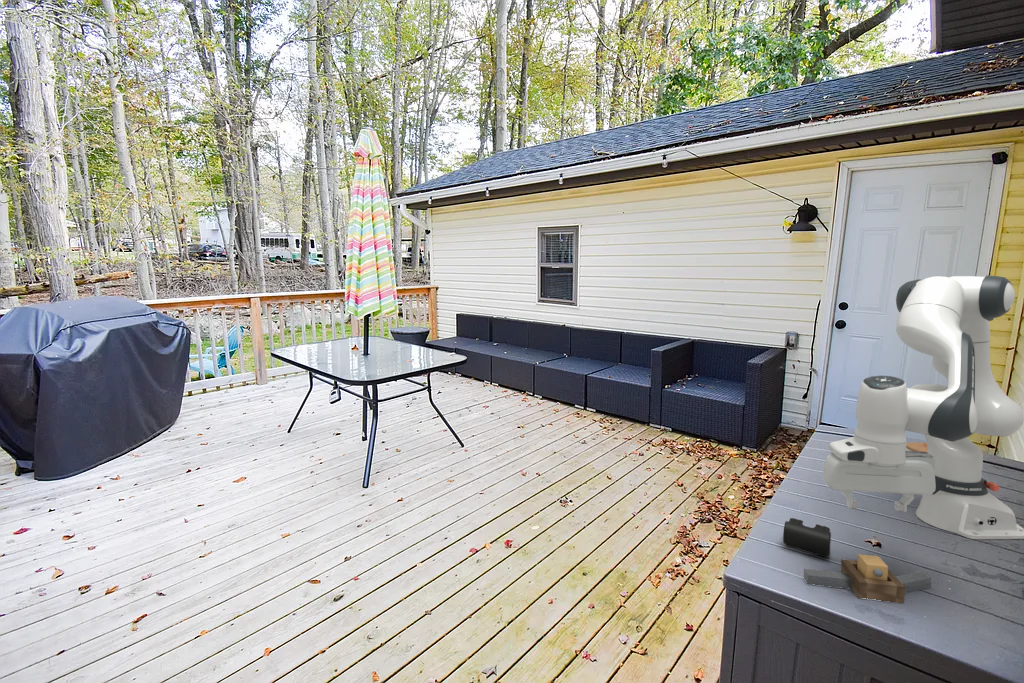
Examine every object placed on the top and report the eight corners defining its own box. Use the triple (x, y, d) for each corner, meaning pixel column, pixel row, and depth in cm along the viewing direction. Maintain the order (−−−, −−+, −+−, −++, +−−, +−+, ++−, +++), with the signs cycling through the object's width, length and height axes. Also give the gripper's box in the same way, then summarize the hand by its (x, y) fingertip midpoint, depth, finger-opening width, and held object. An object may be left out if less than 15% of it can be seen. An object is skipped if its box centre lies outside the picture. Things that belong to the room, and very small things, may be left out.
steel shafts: (924, 581, 103) (924, 572, 103) (942, 599, 98) (943, 589, 97) (797, 568, 110) (797, 559, 110) (807, 584, 104) (807, 575, 104)
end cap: (782, 549, 118) (783, 525, 117) (786, 537, 123) (787, 514, 122) (828, 563, 111) (829, 538, 111) (831, 550, 117) (832, 526, 116)
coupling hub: (881, 578, 105) (882, 563, 104) (903, 603, 97) (905, 586, 96) (840, 574, 107) (841, 559, 107) (858, 598, 99) (859, 582, 98)
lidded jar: (902, 459, 172) (904, 436, 171) (941, 465, 165) (943, 440, 164) (906, 469, 163) (908, 444, 162) (946, 475, 157) (948, 449, 156)
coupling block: (874, 582, 104) (876, 554, 103) (887, 597, 99) (889, 568, 98) (855, 580, 105) (856, 552, 104) (866, 595, 100) (868, 566, 99)
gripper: (925, 446, 99) (921, 505, 101) (821, 443, 104) (818, 499, 105) (945, 457, 93) (940, 520, 95) (833, 453, 98) (831, 512, 99)
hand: (875, 509), depth 100 cm, fingers open, 8 cm apart
